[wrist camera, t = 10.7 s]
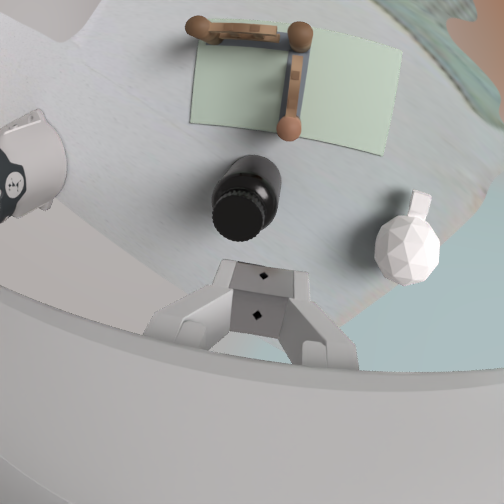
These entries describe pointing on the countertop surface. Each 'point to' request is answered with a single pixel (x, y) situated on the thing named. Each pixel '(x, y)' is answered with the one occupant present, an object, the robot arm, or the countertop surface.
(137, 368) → the robot arm
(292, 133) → the fence gate
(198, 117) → the mat
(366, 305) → the countertop surface
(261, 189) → the supplement bottle
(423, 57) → the countertop surface
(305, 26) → the fence fixed
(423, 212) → the perfume bottle
